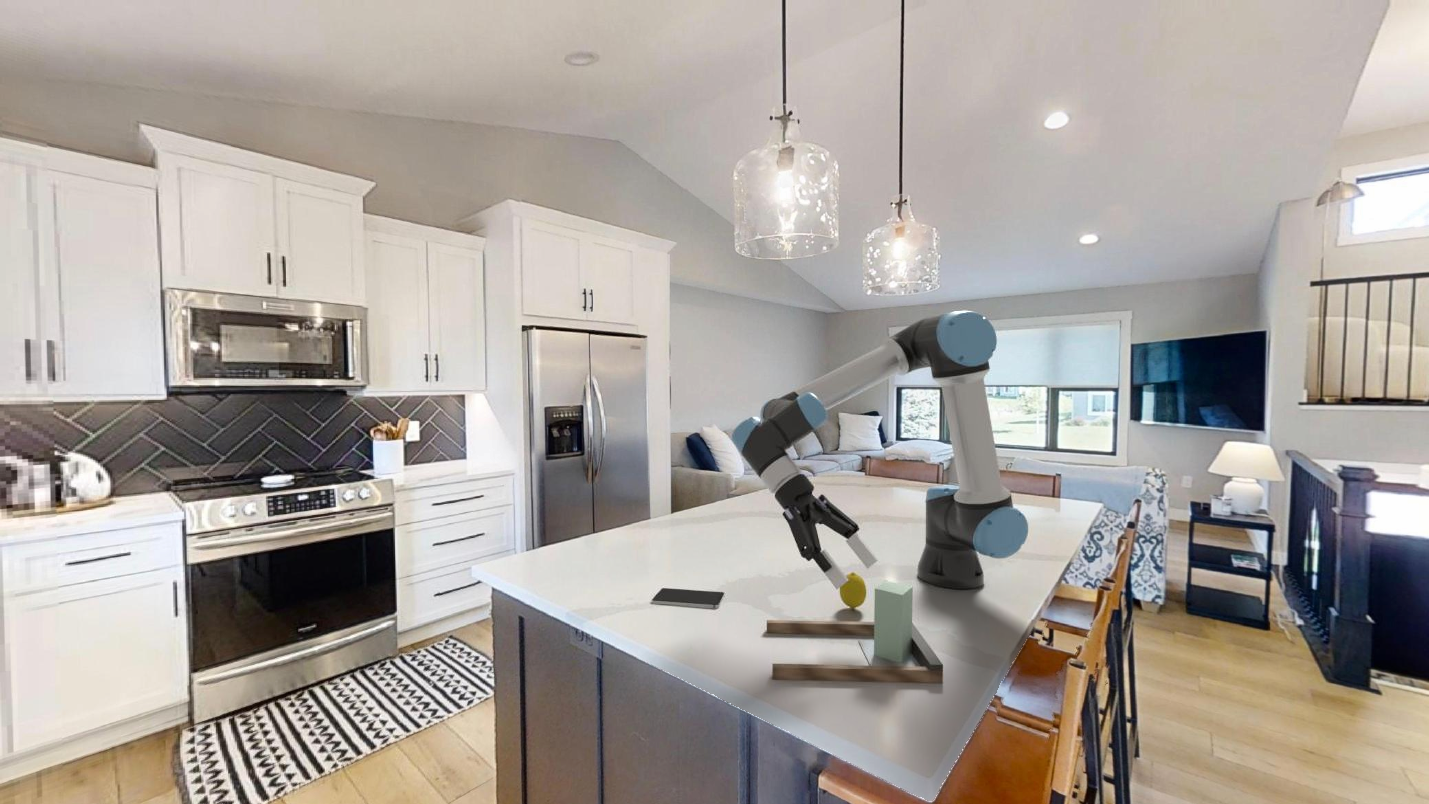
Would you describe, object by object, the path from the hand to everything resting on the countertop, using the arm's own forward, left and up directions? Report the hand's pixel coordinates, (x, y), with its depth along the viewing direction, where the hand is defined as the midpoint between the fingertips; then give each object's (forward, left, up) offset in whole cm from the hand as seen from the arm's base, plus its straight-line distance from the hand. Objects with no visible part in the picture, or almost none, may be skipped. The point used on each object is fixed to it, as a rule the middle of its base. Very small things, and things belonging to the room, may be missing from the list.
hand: (858, 574), depth 104 cm
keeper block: (-5, +3, -13) cm, 15 cm away
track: (+3, +3, -13) cm, 14 cm away
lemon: (-2, -17, -14) cm, 22 cm away
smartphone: (+33, -21, -14) cm, 42 cm away
